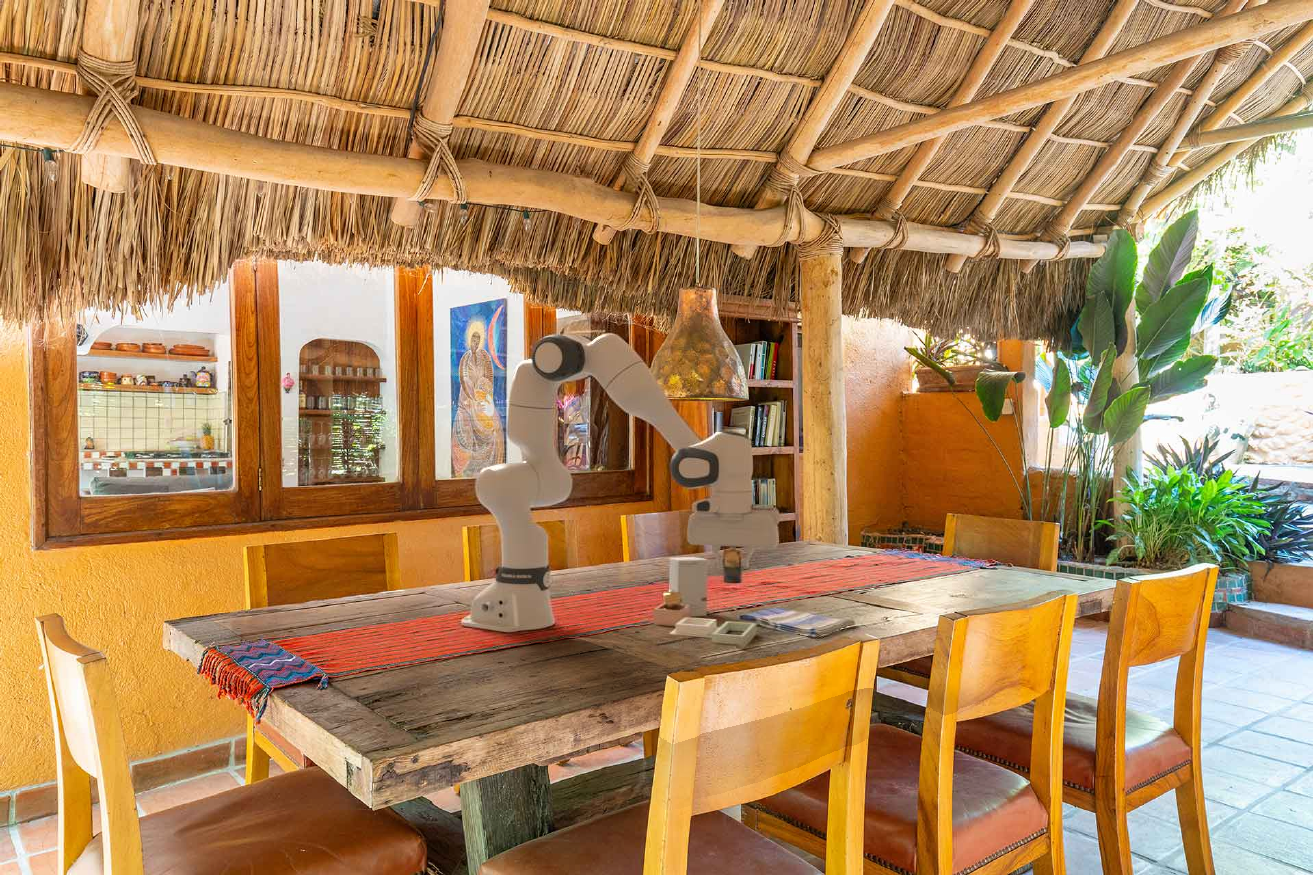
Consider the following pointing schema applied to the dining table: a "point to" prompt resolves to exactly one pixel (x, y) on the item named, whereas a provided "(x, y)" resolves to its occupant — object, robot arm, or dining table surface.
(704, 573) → the skincare box
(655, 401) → the robot arm
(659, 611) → the pink open box
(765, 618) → the dish towel
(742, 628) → the trough
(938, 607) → the dining table surface
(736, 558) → the cell
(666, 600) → the cell
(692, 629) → the cradle
